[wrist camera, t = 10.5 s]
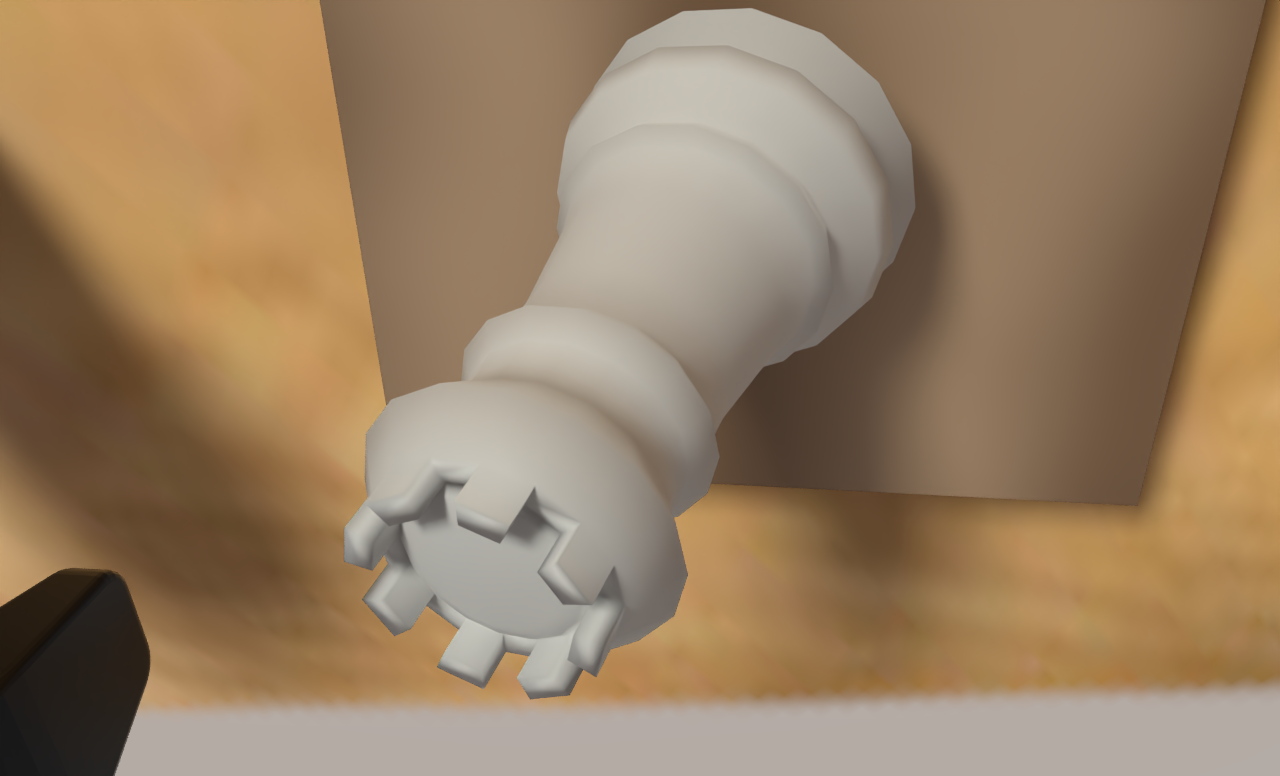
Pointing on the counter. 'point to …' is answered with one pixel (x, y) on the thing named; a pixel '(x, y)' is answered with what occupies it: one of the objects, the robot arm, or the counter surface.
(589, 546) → the rook chess piece
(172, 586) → the counter surface
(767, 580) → the counter surface
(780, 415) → the walnut block
